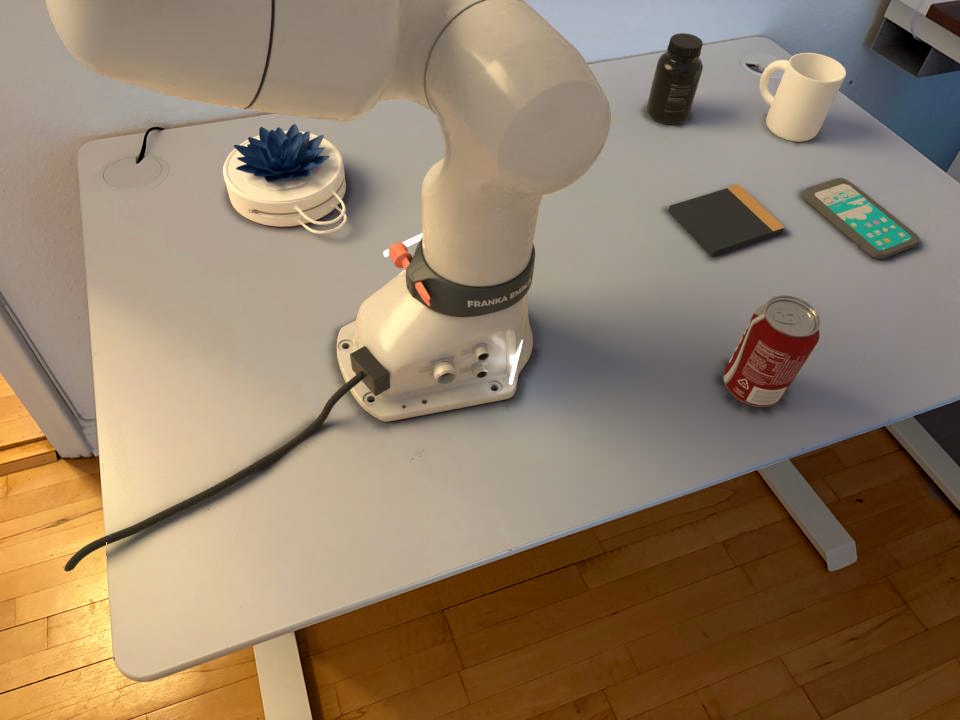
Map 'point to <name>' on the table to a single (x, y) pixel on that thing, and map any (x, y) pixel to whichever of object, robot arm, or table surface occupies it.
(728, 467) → the table surface
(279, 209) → the lotus gift box
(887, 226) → the smartphone
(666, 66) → the supplement bottle
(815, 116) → the mug
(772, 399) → the soda can
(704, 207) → the notebook
